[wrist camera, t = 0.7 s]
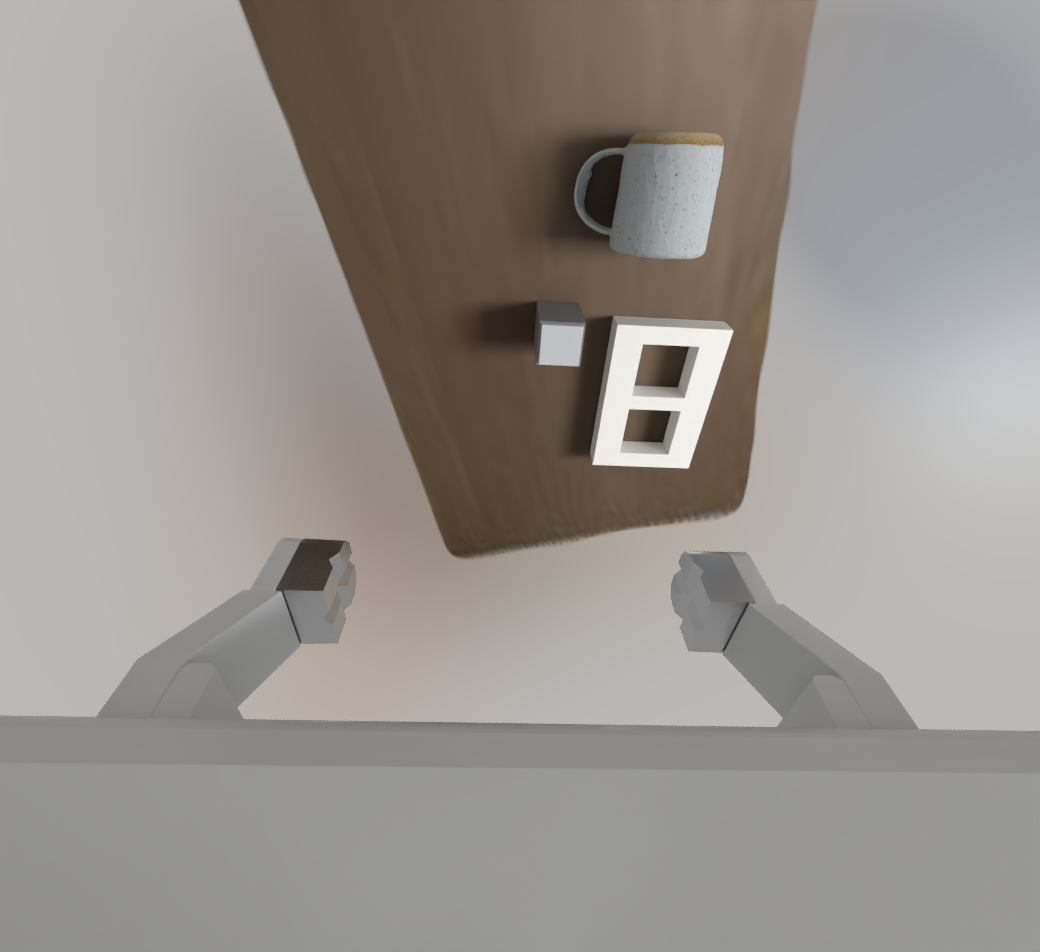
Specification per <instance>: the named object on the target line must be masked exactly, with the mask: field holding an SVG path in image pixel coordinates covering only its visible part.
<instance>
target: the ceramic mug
mask: <svg viewBox="0 0 1040 952" xmlns="http://www.w3.org/2000/svg"><path fill="white" fill-rule="evenodd" d="M616 154H621V155H623V156H624V159H623V164H622V169H621V176H620V185H619V191H618V196H617V201H616V207H615V212H614V218H613V224H612V228H608V227H605V226H602V225H600V224H598V223H597V222H595V221H594V220H593V219H592V218H591V217H590V216H589V215H588V214H587V212H586V210H585V204H584V200H585V195H586V189H587V184H588V181H589V178H590V177H591V176H592V171H591V169H592V167H593V165H594V164H595V163H596V162H598V161H599V160H600V159H602V158H603V157H607V156H610V155H616ZM722 162H723V141H722V139H721V137H720V136H719V135H718V134H712V133H699V132H664V131H643V132H637V133H636V134H634V135H633V136H632V137H631V139H630V140H629V143H628V145H627V146H626V147H625V148H610V149H605V150H602V151H600V152H597V153H595V154H594V155H592V156H591V157H590V158H589V159H588V160H587V161H586V162H585V164H584V165H583V166H582V168H581V169H580V171H579V174H578V176H577V180H576V184H575V190H574V205H575V208H576V211H577V213H578V215H579V216H580V218H581V219H582V220H583V221H584V223H585V224H586V225H587V226H589V227H590V228H592V229H593V230H595V231H597V232H600V233H602V234H606V235H609V236H610V243H609V246H610V248H611V249H612V250H614V251H616V252H619V253H623V254H627V255H633V256H641V257H648V258H661V259H692V258H697V257H700V256H702V255H703V254H704V253H705V250H706V244H707V239H708V233H709V228H710V223H711V218H712V213H713V208H714V203H715V197H716V191H717V187H718V182H719V178H720V173H721V168H722Z"/></svg>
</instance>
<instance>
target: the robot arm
mask: <svg viewBox="0 0 1040 952" xmlns="http://www.w3.org/2000/svg"><path fill="white" fill-rule="evenodd" d="M351 553H352V551H351V547H350V543H349V542H347V541H339V540H322V539H294V538H283V539H281V540H280V541H279V542H278V543H277V544H276V546H275V548H274V550H273V551H272V553H271V555H270V557H269V558H268V560H267V562H266V563H265V565H264V567H263V568H262V570H261V572H260V574H259V575H258V577H257V579H256V581H255V582H254V584H253V586H252V587H251V589H250V590H243V591H241V592H240V593H238V594H237V595H235V596H234V597H232V598H231V599H229V600H227V601H226V602H224V603H223V604H221V605H220V606H218V607H217V608H215V609H214V610H212V611H211V612H209V613H208V614H206V615H205V616H203V617H201V618H200V619H198V620H197V621H195V622H194V623H192V624H191V625H189V626H188V627H186V628H185V629H183V630H182V631H180V632H179V633H177V634H176V635H174V636H173V637H171V638H169V639H168V640H166V641H165V642H163V643H162V644H160V645H159V646H157V647H156V648H154V649H153V650H151V651H149V652H148V653H146V654H145V655H143V656H142V657H140V658H139V659H137V661H136V662H135V663H134V665H133V666H132V668H131V669H130V670H129V672H128V673H127V675H126V676H125V677H124V679H123V680H122V681H121V683H120V684H119V686H118V687H117V688H116V690H115V691H114V693H113V694H112V695H111V697H110V698H109V700H108V701H107V702H106V704H105V705H104V707H103V708H102V710H101V711H100V712H99V713H98V715H97V716H96V717H61V716H60V717H59V716H0V952H1040V731H995V730H928V729H927V730H926V729H918V727H917V726H916V724H915V723H914V721H913V720H912V718H911V717H910V716H909V714H908V713H907V711H906V710H905V708H904V707H903V705H902V704H901V702H900V701H899V699H898V698H897V697H896V695H895V694H894V692H893V691H892V689H891V688H890V686H889V685H888V683H887V682H886V680H885V679H884V677H883V676H882V675H881V674H880V673H878V672H877V671H875V670H874V669H873V668H871V667H870V666H868V665H867V664H866V663H864V662H863V661H862V660H860V659H859V658H857V657H856V656H854V655H853V654H852V653H850V652H849V651H848V650H846V649H845V648H843V647H842V646H841V645H839V644H838V643H837V642H835V641H834V640H832V639H831V638H830V637H828V636H826V635H825V634H824V633H823V632H821V631H820V630H818V629H817V628H816V627H814V626H813V625H811V624H810V623H809V622H807V621H806V620H805V619H803V618H802V617H800V616H799V615H798V614H796V613H795V612H793V611H792V610H791V609H789V608H788V607H786V606H785V605H781V604H777V602H776V601H775V599H774V597H773V595H772V594H771V592H770V590H769V589H768V587H767V585H766V583H765V581H764V580H763V578H762V576H761V575H760V573H759V571H758V569H757V568H756V566H755V564H754V562H753V561H752V559H751V557H750V556H749V555H748V554H747V553H745V552H700V551H685V552H684V553H683V554H682V555H681V557H680V560H679V565H680V567H681V570H680V571H679V572H678V573H676V574H675V575H674V577H673V580H672V584H671V600H672V605H673V607H674V611H675V613H676V614H678V615H679V616H680V617H681V618H682V619H683V621H682V624H681V627H680V629H681V631H682V634H683V637H684V640H685V643H686V646H687V649H688V651H697V652H717V653H723V655H724V656H725V657H726V658H727V659H728V660H729V662H730V663H731V664H732V665H733V666H734V667H735V668H736V669H737V670H738V671H739V672H740V673H741V674H742V675H743V676H744V677H745V678H746V679H747V681H748V682H749V683H750V684H751V685H752V686H753V687H754V688H755V689H756V690H757V691H758V692H759V693H760V694H761V695H762V696H763V697H764V698H765V699H766V701H767V702H768V703H769V704H770V705H771V706H772V707H773V708H774V709H775V710H776V711H777V712H778V713H779V714H780V715H781V716H782V717H783V719H782V721H781V722H780V723H779V725H778V726H777V727H727V726H725V727H724V726H660V725H657V726H656V725H655V726H652V725H589V724H588V725H587V724H521V723H520V724H517V723H455V722H451V723H449V722H386V721H381V722H380V721H321V720H319V721H318V720H316V721H315V720H256V719H254V720H253V719H252V720H251V719H243V717H242V715H241V714H240V712H239V710H238V708H237V707H238V706H239V705H240V704H241V703H242V702H243V701H244V700H245V699H246V698H247V697H248V696H249V695H250V694H251V693H252V692H253V691H254V690H255V689H256V688H258V687H259V686H260V685H261V684H262V683H263V682H264V681H265V680H266V679H267V678H268V677H269V676H270V675H271V674H272V673H273V672H274V671H275V670H276V669H277V668H278V667H279V666H280V665H281V664H282V663H283V662H284V661H285V660H286V659H287V658H288V657H289V656H290V655H291V654H292V653H293V652H294V651H295V650H296V649H298V647H300V644H303V643H304V644H308V643H309V644H314V643H338V641H339V638H340V635H341V632H342V629H343V626H344V624H345V621H346V617H345V613H344V609H346V608H347V607H348V606H349V605H351V603H352V600H353V597H354V594H355V587H356V571H355V566H354V565H353V564H352V563H351V562H350V561H349V558H350V556H351Z"/></svg>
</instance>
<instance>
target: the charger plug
mask: <svg viewBox="0 0 1040 952" xmlns="http://www.w3.org/2000/svg"><path fill="white" fill-rule="evenodd" d="M585 326H586V322H585V319H584V316H583V314H582V311H581V308H580V306H579V303H562V302H542V301H537V309H536V322H535V336H534V346H535V356H536V365H557V366H579V367H580V363H581V355H582V348H583V341H584V333H585Z"/></svg>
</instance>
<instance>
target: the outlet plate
mask: <svg viewBox="0 0 1040 952" xmlns="http://www.w3.org/2000/svg"><path fill="white" fill-rule="evenodd" d="M732 333H733V329H732V328H731V327H730V326H728V325H727V324H726V323H725V322H724V321H707V320H687V319H667V318H647V317H627V316H613V320H612V326H611V332H610V337H609V343H608V349H607V355H606V361H605V367H604V373H603V379H602V384H601V390H600V396H599V402H598V408H597V414H596V420H595V426H594V431H593V437H592V443H591V449H590V455H591V459H592V463H593V465H613V466H640V467H668V468H689V465H690V462H691V459H692V456H693V453H694V450H695V447H696V444H697V441H698V437H699V434H700V431H701V428H702V425H703V422H704V419H705V416H706V413H707V410H708V407H709V404H710V401H711V398H712V395H713V392H714V389H715V385H716V382H717V379H718V376H719V373H720V370H721V367H722V364H723V361H724V358H725V355H726V352H727V349H728V346H729V343H730V340H731V337H732ZM643 344H650V345H671V346H689V349H688V353H687V356H686V360H685V364H684V367H683V371H682V374H681V378H680V382H679V385H678V387H656V386H634V384H635V379H636V374H637V370H638V365H639V360H640V356H641V351H642V347H643ZM629 409H640V410H664V411H671V414H670V418H669V422H668V425H667V429H666V432H665V436H664V440H663V443H661V442H636V441H622V439H623V435H624V430H625V426H626V421H627V416H628V412H629Z"/></svg>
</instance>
